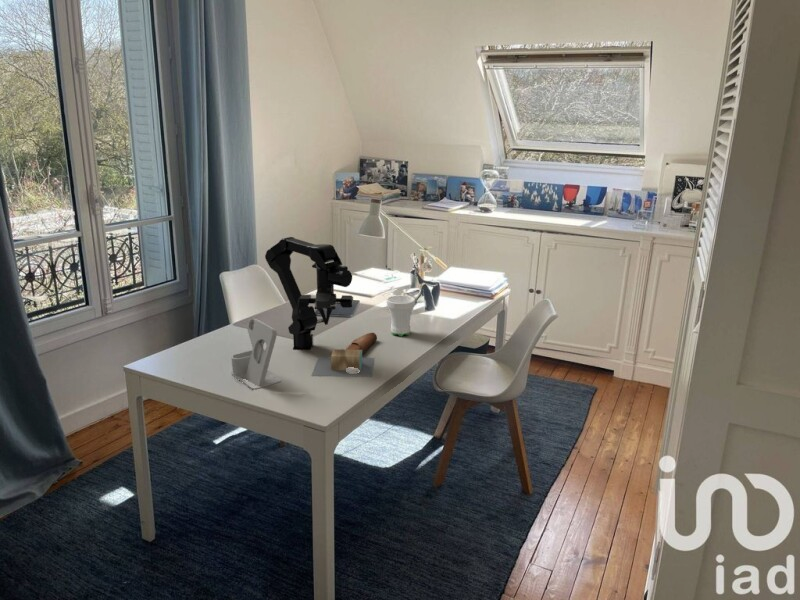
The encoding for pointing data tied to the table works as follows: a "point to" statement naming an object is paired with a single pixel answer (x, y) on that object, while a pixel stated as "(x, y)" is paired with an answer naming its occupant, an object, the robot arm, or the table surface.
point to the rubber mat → (324, 369)
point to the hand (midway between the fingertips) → (326, 324)
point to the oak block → (346, 359)
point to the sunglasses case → (363, 343)
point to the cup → (400, 313)
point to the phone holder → (256, 357)
